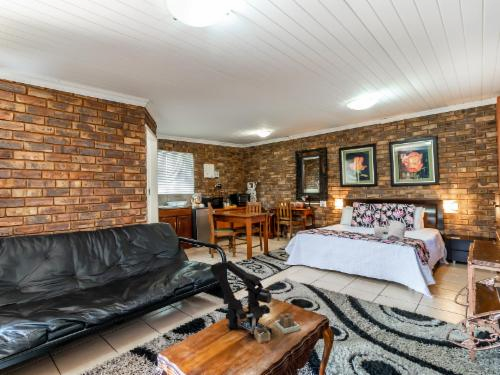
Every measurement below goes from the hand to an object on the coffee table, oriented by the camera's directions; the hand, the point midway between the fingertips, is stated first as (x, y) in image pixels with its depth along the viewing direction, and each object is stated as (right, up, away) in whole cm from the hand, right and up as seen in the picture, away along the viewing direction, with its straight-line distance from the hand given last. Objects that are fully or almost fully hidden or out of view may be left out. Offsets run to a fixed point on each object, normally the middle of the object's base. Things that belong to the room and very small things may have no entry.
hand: (253, 326), depth 153 cm
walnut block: (+20, -3, +5) cm, 20 cm away
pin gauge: (0, -4, 0) cm, 4 cm away
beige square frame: (+5, -4, -6) cm, 8 cm away
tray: (+20, -3, +5) cm, 21 cm away
